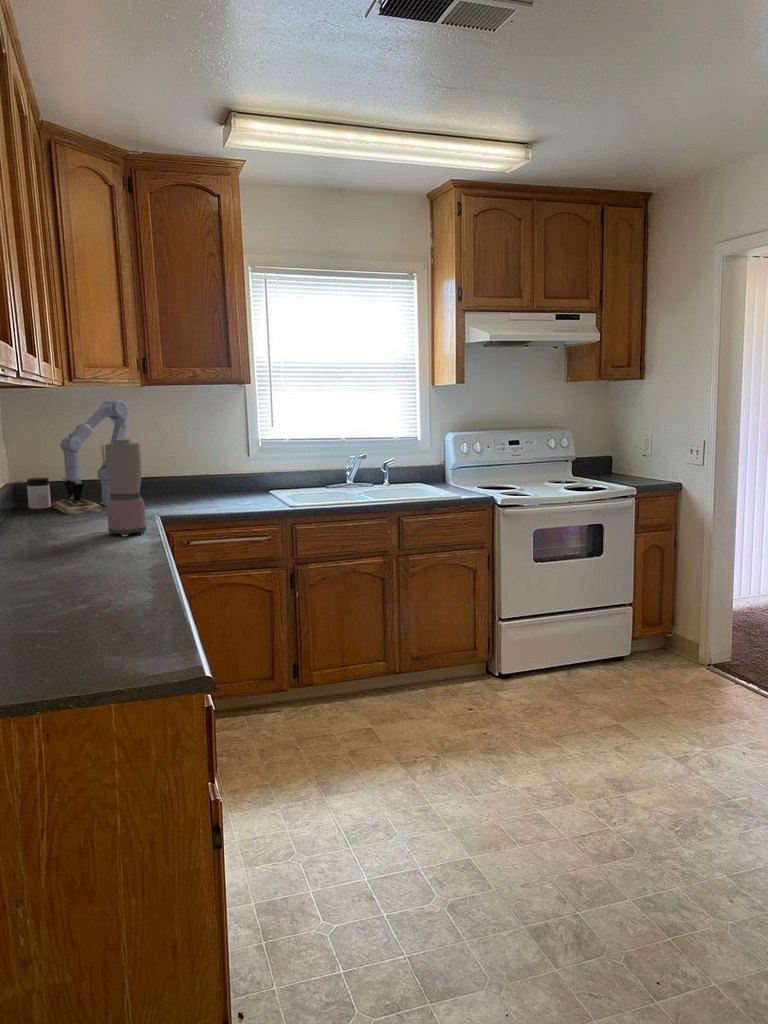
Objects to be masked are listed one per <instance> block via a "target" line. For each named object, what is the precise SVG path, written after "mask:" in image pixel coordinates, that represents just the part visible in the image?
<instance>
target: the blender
mask: <svg viewBox="0 0 768 1024" xmlns="http://www.w3.org/2000/svg"><path fill="white" fill-rule="evenodd" d="M140 448H141V447H140V444H139V443H138V442H132V441H131V440H130V438H125V439H115V440H114V443H110V442H108V443H105V445H104V461H105V465H106V476H107V481H108V485H109V489H110V498H109V501H108V504H107V505H106V511H107V512H106V513H107V525H108V527H107V529H108V533H110V534H121V536H122V535H129V534H134V533H144V532H145V533H146V530H147V524H146V523H147V521H146V506H145V501H144V499H143V497H142V496H141V483H142V481H141V480H142V458H141V449H140ZM129 536H130V535H129Z"/></svg>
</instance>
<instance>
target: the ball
mask: <svg viewBox="0 0 768 1024" xmlns="http://www.w3.org/2000/svg"><path fill="white" fill-rule="evenodd" d="M69 500H70V501H72V502H73V503H79V502H80V501H75V500H74V497H73V494H72V495H71V497H70V499H69Z"/></svg>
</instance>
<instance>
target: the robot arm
mask: <svg viewBox="0 0 768 1024" xmlns="http://www.w3.org/2000/svg"><path fill="white" fill-rule="evenodd" d="M129 410H130V409H129V407H128V405H127V403H126V402H125V401H124V400H119V399H118V400H110V399H106V400H105V401H103V403H102V404H100V405H99V407H98V409H96V411H95V412H94V414H92V415H91V417H90V418H89V419H88V420H87V421H86V423H80V424H77V425H76V426H75V429H74V430H73V431H72V432H71V433H69V434H68V436H66V437H63V438H62V440H61V443H60V444H59V446H60V448H61V450H62V452H63V459H64V460H63V461H64V473H65V474H64V475H65V477H62V480H63V481H64V482H62V484H63V486H64V487H65V490H66V492H67V496H68V499H69V500H71V499H70V497H71V495H72V494H73V497H74V500H75V501H80V500H81V499H82V494H83V493H82V492H83V490H84V487H85V483H82V476H81V475H82V474H81V464H80V463H81V462H80V461H81V460H80V451H81V449H82V446H83V443H84V442H85V441H86V440H88V438H89V437H90V436H91V435H92V434H93V429H94V428H96V426H98V424H100V423H101V422H102V421H103V420H105V418H109V419H110V420H111V421H112V422H113V423H114V426H113V430H112V435H111V438H110V442H109V443H114V440H115V439H127V438H126V437H127V433H128V429H129V425H130V420H129V414H128V413H129ZM96 475H97V478H98V479H99V481H100V483H101V497H102V498H101V499H102V500H101V501H100V502H99V505H102V506H107V504H108V501H109V498H110V489H109V485H108V481H107V476H106V465H105V460H104V461H103V462H101V466H100V467H99V469H98V471H97V474H96Z"/></svg>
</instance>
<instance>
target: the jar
mask: <svg viewBox="0 0 768 1024" xmlns="http://www.w3.org/2000/svg"><path fill="white" fill-rule="evenodd" d="M49 480H50V479H49V478H48V477H33V478H32V477H30V478H28V479H26V483H27V484H26V485H27V486H26V491H27V492H26V493H27V500H28V502H27V504H28V509H34V510H40V509H49V508H51V507H52V502H51V501H52V500H51V499H52V498H51V488H50V482H49Z"/></svg>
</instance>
